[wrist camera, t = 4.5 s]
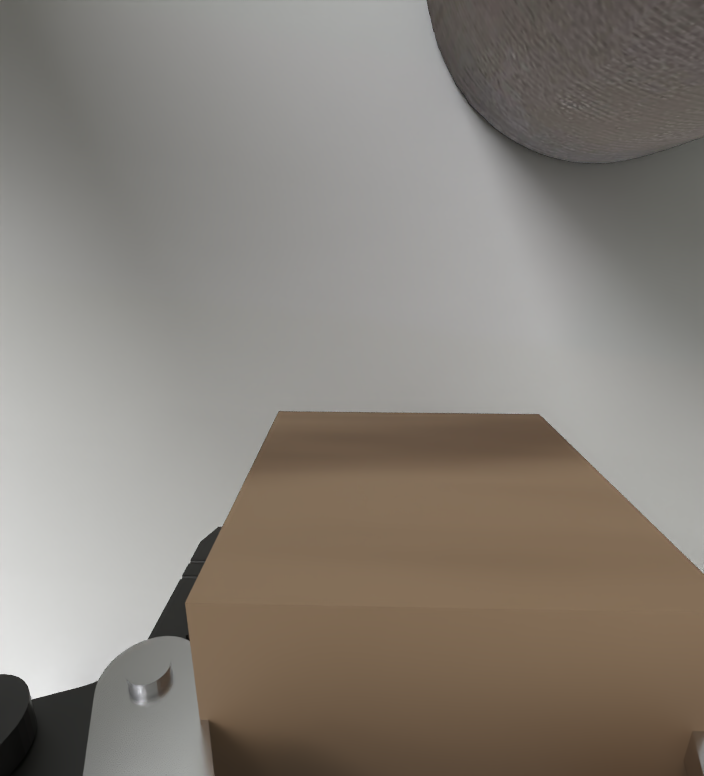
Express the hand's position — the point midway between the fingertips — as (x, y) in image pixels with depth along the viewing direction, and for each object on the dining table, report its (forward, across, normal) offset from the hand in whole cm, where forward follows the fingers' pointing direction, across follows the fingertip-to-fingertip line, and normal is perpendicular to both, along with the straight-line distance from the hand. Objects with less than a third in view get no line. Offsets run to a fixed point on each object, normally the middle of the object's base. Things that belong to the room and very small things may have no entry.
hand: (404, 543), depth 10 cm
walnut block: (+1, 0, 0) cm, 1 cm away
